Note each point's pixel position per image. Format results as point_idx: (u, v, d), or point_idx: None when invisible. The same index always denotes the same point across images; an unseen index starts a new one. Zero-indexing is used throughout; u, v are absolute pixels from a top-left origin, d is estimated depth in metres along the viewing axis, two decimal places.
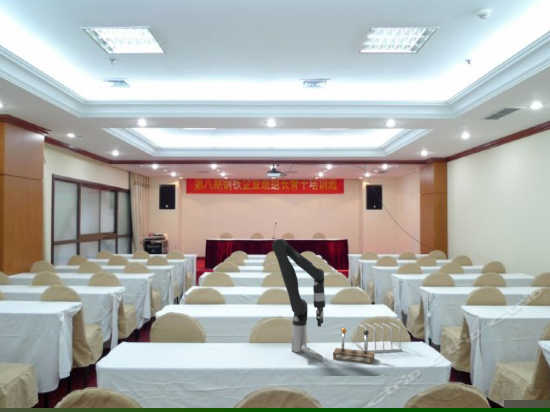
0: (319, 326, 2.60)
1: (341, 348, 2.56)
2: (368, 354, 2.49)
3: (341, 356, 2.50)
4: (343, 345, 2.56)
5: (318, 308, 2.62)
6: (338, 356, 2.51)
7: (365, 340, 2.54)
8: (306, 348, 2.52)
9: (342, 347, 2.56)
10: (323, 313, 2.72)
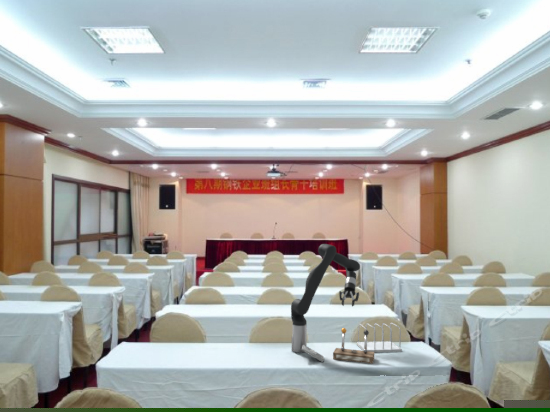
0: (352, 305, 2.75)
1: (341, 348, 2.56)
2: (368, 354, 2.49)
3: (341, 356, 2.50)
4: (343, 345, 2.56)
5: (354, 291, 2.83)
6: (338, 356, 2.51)
7: (365, 340, 2.54)
8: (306, 348, 2.52)
9: (342, 347, 2.56)
10: None
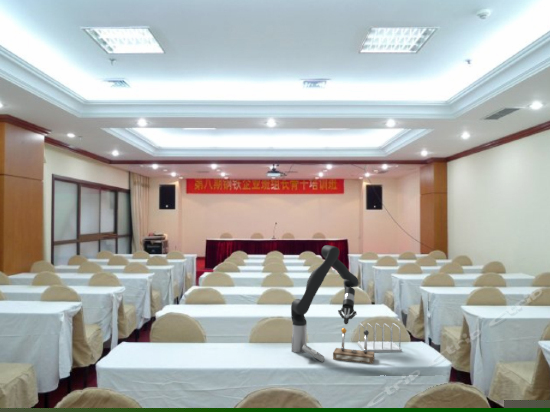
0: (347, 323, 2.69)
1: (341, 348, 2.56)
2: (368, 354, 2.49)
3: (341, 356, 2.50)
4: (343, 345, 2.56)
5: None
6: (338, 356, 2.51)
7: (365, 340, 2.54)
8: (307, 348, 2.53)
9: (342, 347, 2.56)
10: None
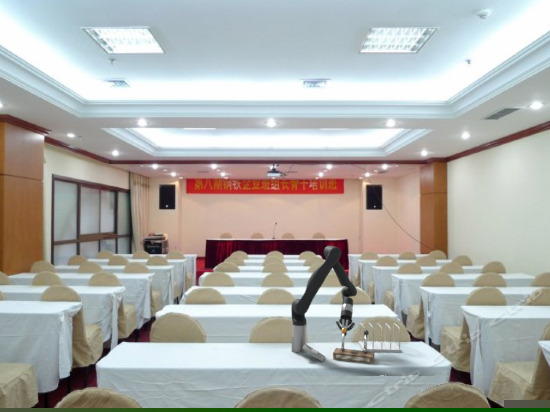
0: (345, 335, 2.61)
1: (341, 348, 2.56)
2: (368, 354, 2.49)
3: (341, 356, 2.50)
4: (343, 345, 2.56)
5: (351, 319, 2.68)
6: (338, 356, 2.51)
7: (365, 340, 2.54)
8: (308, 347, 2.54)
9: (342, 347, 2.56)
10: (339, 328, 2.67)
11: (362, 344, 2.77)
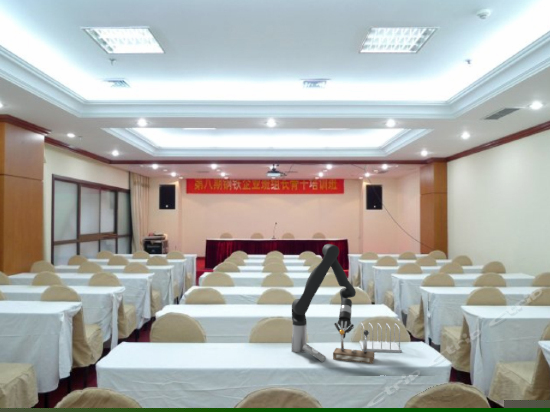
0: (343, 338, 2.55)
1: (341, 349, 2.55)
2: (368, 354, 2.49)
3: (341, 356, 2.50)
4: (342, 346, 2.54)
5: (350, 320, 2.63)
6: (338, 356, 2.51)
7: (365, 340, 2.54)
8: (308, 347, 2.54)
9: (342, 348, 2.54)
10: (338, 330, 2.61)
11: (362, 344, 2.77)
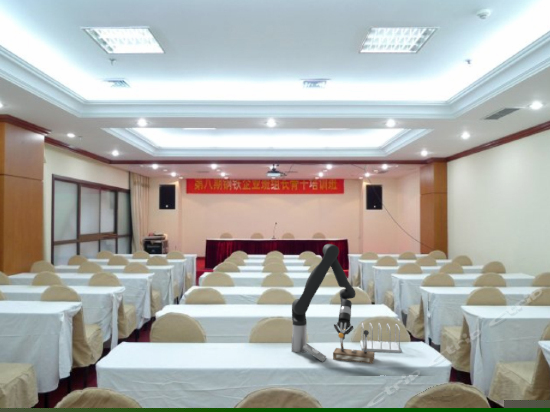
0: (343, 339, 2.53)
1: (341, 350, 2.54)
2: (368, 354, 2.49)
3: (341, 356, 2.50)
4: (342, 347, 2.54)
5: None
6: (338, 356, 2.51)
7: (365, 340, 2.54)
8: (308, 347, 2.55)
9: (342, 349, 2.54)
10: None
11: (362, 343, 2.78)
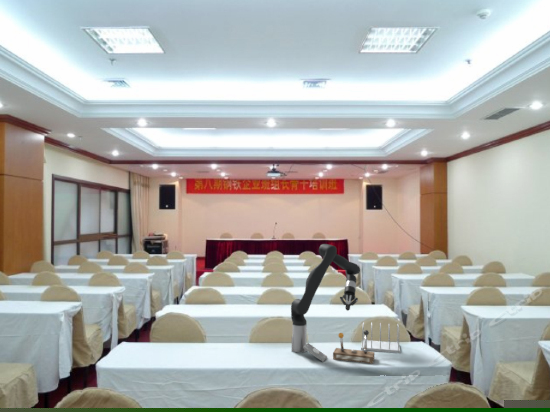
0: (348, 309, 2.75)
1: (341, 350, 2.54)
2: (368, 354, 2.49)
3: (341, 356, 2.50)
4: (342, 347, 2.54)
5: (354, 294, 2.82)
6: (338, 356, 2.51)
7: (365, 340, 2.54)
8: (309, 346, 2.55)
9: (342, 349, 2.54)
10: (343, 303, 2.80)
11: (363, 343, 2.79)
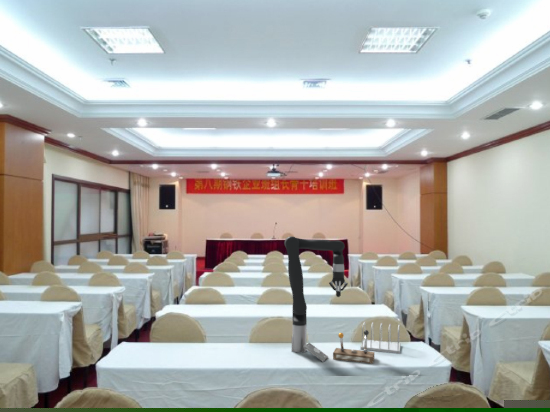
0: (339, 296, 2.71)
1: (341, 350, 2.54)
2: (368, 354, 2.49)
3: (341, 356, 2.50)
4: (342, 347, 2.54)
5: None
6: (338, 356, 2.51)
7: (365, 340, 2.54)
8: (310, 346, 2.56)
9: (342, 349, 2.54)
10: (333, 288, 2.74)
11: None
